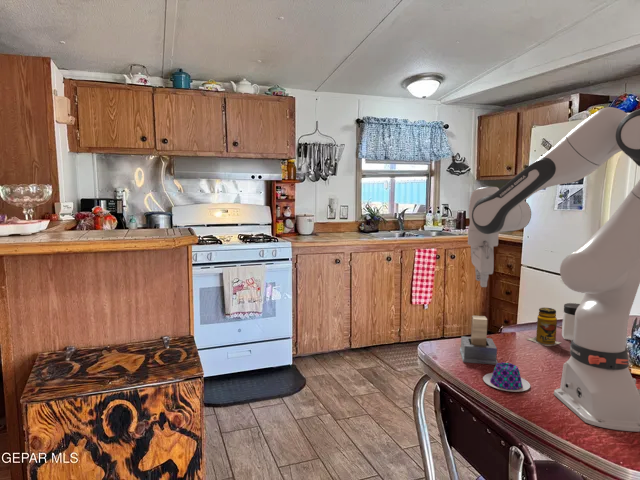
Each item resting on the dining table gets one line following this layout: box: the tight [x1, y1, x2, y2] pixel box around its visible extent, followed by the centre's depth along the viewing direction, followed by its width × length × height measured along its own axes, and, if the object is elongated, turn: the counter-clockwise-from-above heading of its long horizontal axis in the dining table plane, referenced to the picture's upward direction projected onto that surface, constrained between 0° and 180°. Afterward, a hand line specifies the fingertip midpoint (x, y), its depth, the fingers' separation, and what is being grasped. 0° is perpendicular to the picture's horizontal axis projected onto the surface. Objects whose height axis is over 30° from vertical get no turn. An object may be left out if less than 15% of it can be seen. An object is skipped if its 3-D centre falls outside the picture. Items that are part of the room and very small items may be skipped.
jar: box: [561, 302, 581, 342], centre depth 155 cm, size 9×8×12 cm
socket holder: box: [459, 336, 499, 366], centre depth 137 cm, size 10×10×5 cm
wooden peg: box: [470, 315, 488, 346], centre depth 136 cm, size 4×4×12 cm
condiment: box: [526, 307, 561, 347], centre depth 151 cm, size 7×8×12 cm
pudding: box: [482, 362, 531, 393], centre depth 118 cm, size 12×12×5 cm
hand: (481, 283), depth 134 cm, fingers open, 8 cm apart
